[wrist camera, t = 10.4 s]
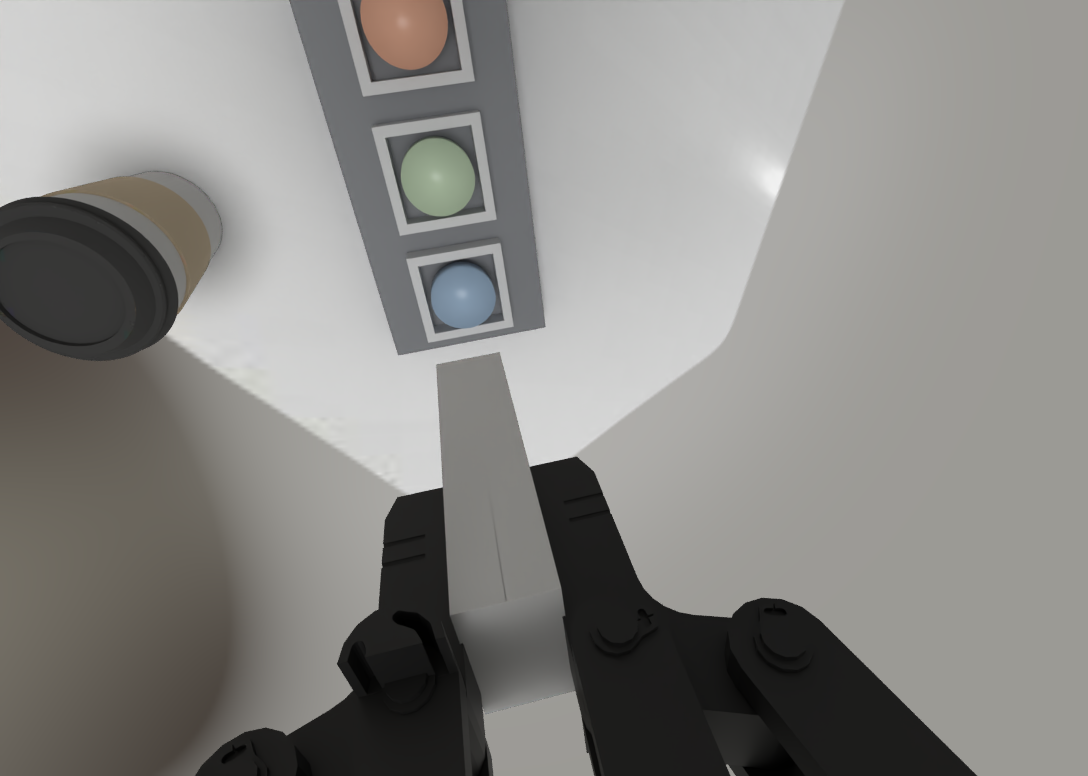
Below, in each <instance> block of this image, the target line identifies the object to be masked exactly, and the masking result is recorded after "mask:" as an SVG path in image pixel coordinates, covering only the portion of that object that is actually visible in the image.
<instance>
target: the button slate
mask: <svg viewBox="0 0 1088 776" xmlns="http://www.w3.org/2000/svg"><path fill="white" fill-rule="evenodd" d="M495 302H496V295H495V290H494V287H493V284H492V281H491V279H490V277H489V275H488V274H487V273H486V272H485V271H484V270H483V269H482V268H481V267H479V266H477V265H475V264H473V263H469V262H455V263H451V264H449V265H447V266H445V267H443V268H442V269H441V270H440V271H439V272H438V273H437V274H436V275H435V277H434V279H433V281H432V285H431V303H432V307H433V310H434V312H435V314H436V315H437V317H438V318H439V319H440V320H441V321H443V322H444V323H445V324H447V325H449V326H452V327H455V328H461V329H466V328H472V327H475V326H478V325H480V324H481V323H483V322H484V321H485V320H487V319H488V317H489V316H490V315H491V313H492V312H493V310H494V307H495Z"/></svg>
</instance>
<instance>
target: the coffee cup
mask: <svg viewBox="0 0 1088 776" xmlns="http://www.w3.org/2000/svg"><path fill="white" fill-rule="evenodd" d="M221 238H222V225H221V220H220V217H219V214H218V212H217V210H216V208H215V206H214V204H213V203H212V202H211V200H210V199H209V198H208V197H207V195H206V194H205V193H204V192H203V191H202V190H200V189H199V188H198V187H197V186H196V185H194V184H193V183H191V182H189V181H188V180H186V179H184V178H182V177H180V176H177V175H174V174H171V173H166V172H158V171H152V172H145V173H141V174H137V175H133V176H129V177H115V178H110V179H106V180H102V181H98V182H93V183H89V184H85V185H81V186H77V187H73V188H69V189H64V190H60V191H56V192H52V193H49V194H46V195H43V196H41V197H31V198H25V199H20V200H17V201H14V202H11V203H8V204H6V205H4V206H2V207H1V208H0V319H1V320H2V321H3V322H4V323H6V325H7V326H9V327H10V328H11V329H12V330H14V331H15V332H16V333H18V334H19V335H21V336H22V337H24V338H25V339H27V340H28V341H30V342H32V343H34V344H36V345H38V346H40V347H42V348H44V349H47V350H49V351H51V352H54V353H57V354H60V355H64V356H67V357H71V358H76V359H82V360H91V361H106V360H115V359H120V358H124V357H127V356H130V355H132V354H135V353H137V352H139V351H141V350H143V349H145V348H147V347H150V346H151V345H153V344H155V343H156V342H158V341H159V340H160V339H162V338H163V337H164V336H165V335H166V334H167V333H168V331H169V330H170V329H171V327H172V325H173V323H174V321H175V319H176V316H177V314H178V313H179V312H180V311H181V310H182V308H183V307H184V305H185V303H186V302H187V300H188V299H189V297H190V295H191V294H192V292H193V290H194V289H195V287H196V285H197V284H198V282H199V281H200V279H201V277H202V276H203V274H204V272H205V271H206V269H207V267H208V264H209V261H210V259H211V258H212V256H213V255H214V253H215V252H216V250H217V249H218V247H219V245H220V242H221Z"/></svg>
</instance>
